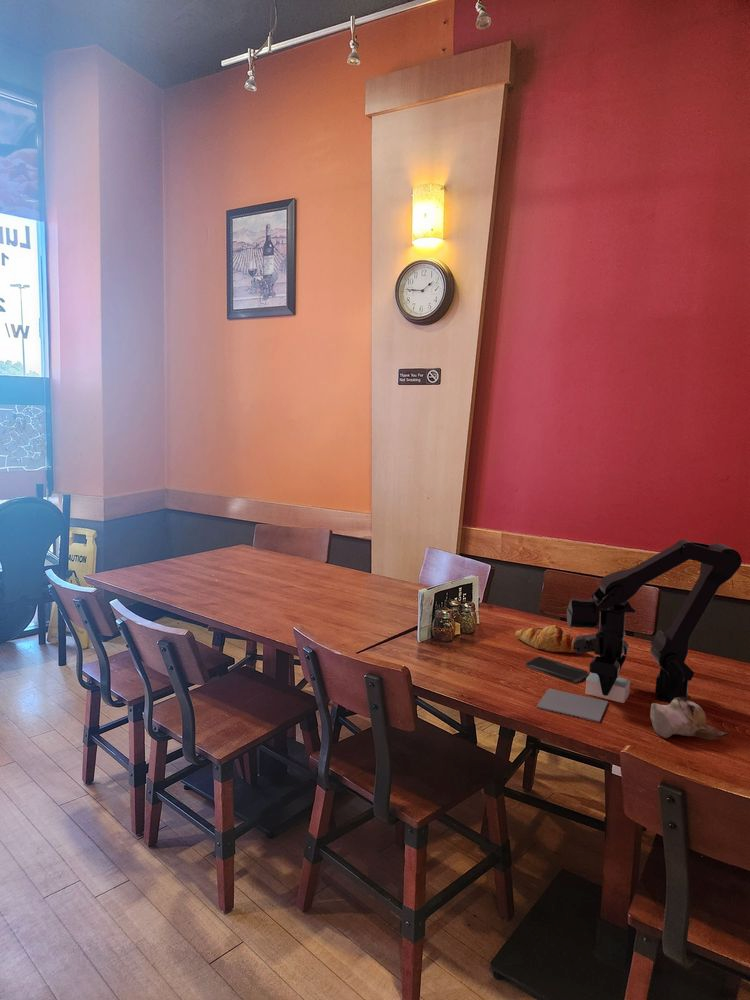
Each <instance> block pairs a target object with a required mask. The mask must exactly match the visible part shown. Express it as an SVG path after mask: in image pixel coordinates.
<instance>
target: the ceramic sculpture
mask: <svg viewBox="0 0 750 1000" xmlns="http://www.w3.org/2000/svg"><path fill="white" fill-rule="evenodd" d="M649 717H650V720H651V724H652V727H653V729H654V732H655V733H656V734H657V735H658V736H660V737H662V738H664V739H668V738H670V737H672V736H673V735H679V736H684V737H697V738H700V739H704V740H710V741H711V740H717V739H722V738H725V737H726V736H729V734H730V733H728V732H724V731H721V730H719V729H718V728H717V727H715V726H713V725H710V724H707V717H706V713H705V711H704V710H703V708H702V707H701V706H700V705H699V704H697V703H696V702H694V701H692V700H688V698H687V699H686V698H685V697H678V698H675V699H673V700H672V702H669V704H667V705H666V704H659V703H656V702H653V703H651V706H650V716H649Z"/></svg>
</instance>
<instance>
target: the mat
mask: <svg viewBox="0 0 750 1000" xmlns="http://www.w3.org/2000/svg"><path fill="white" fill-rule="evenodd" d="M608 704H609V701H608V700H607V701H606V700H603V699H599V698H595V697H589V696H584V695H581V694H576V693H571V692H566V691H562V690H558V689H553V688H548V689H547V690H546V691H545V693H544V694H543V696H542V697H541V698H540V700H539V702H538V703H537V705H536V708H537V709H540V710H543V711H547V712H552V711H553V713H556V712H557V713H556V714H560V713H562V714H561V715H565V714H566V715H565V716H569V715H570V717H573V716H575V717H574V718H577V717H579V719H582V720H587V721H591V722H596V723H599V724H600V723H601V720H602V718H603V715H604V713H605V712H606V709H607V706H608Z"/></svg>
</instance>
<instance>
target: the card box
mask: <svg viewBox="0 0 750 1000" xmlns="http://www.w3.org/2000/svg"><path fill="white" fill-rule="evenodd" d="M630 685H631V680H630V679H628V678H627V679H626V678H623V677H619V676H618V677H617V679H616V681H615V683H614V684H613V686H612V688H611V690H610V692H609V694H608V696H605V695H603V694H602V689H601V684H600V680H599V676H598V675H597V674H595V673H591V672H590V673H589V676H588V677H587V678H585V692H584V694H585V695H589V696H594V697H597V698H601V699H605V700H610V701H612V702H613V701H614V702H616V703H621V704H625V702H626V701H627V699H628V698H629V696H630V688H631V687H630Z"/></svg>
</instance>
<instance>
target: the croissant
mask: <svg viewBox="0 0 750 1000" xmlns="http://www.w3.org/2000/svg"><path fill="white" fill-rule="evenodd" d="M515 636H516V637H517V638H518V639H519V640H520V641H522V642H523V643H525V644H527V645H528V646H530V647H533V648H535V649H537V650H543V651H546V652H551V653H552V652H553V653H555V652H556V653H569V654H571V653H572V654H573V653H574V654H575V653H576V650H574V649H573V647H574V644H573V641H574V639H575V638H576V637H572V636H571V635H570V633H569V632H567V631H564V630H563V628H561V627H560V626H559V625H556V624H553V625H547V626H534V627H531V628H529V627H527V628H526V627H525V628H524V627H523V629H520V630H519V629H517V630H516V631H515ZM576 654H577V653H576Z"/></svg>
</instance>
